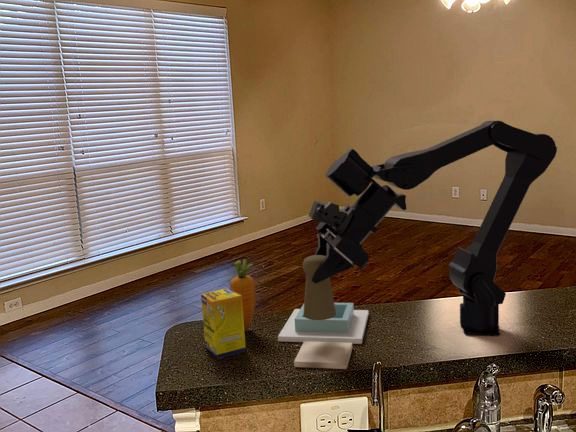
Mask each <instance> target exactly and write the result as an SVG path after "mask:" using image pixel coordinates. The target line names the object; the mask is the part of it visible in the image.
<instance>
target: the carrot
mask: <svg viewBox="0 0 576 432" xmlns="http://www.w3.org/2000/svg"><path fill="white" fill-rule="evenodd" d="M242 261H243V262H242ZM242 261H241V260H237V261H236V262H235V263H234V264H233V265H234V267H235V268H236V273H237V276H234V277H233V278H231V279H230V283H229V285H230V286H229V287H230V289H231V290H232V291H234V292H235V293H237V294H239V295H241V296H242V302H243V317H244V331H246V330H247V331H248V330H249V329H250V326H251V324H252V322H253V318H254V313H255V308H256V307H255V306H256V281H255V279H254V278H253V277H251V276H250V275H247V274H248V271H250V269H252V267H254V264H253V263H249V264H248V265H247V261H248V259H243V260H242ZM247 331H246V332H247Z"/></svg>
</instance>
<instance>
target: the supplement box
mask: <svg viewBox="0 0 576 432" xmlns="http://www.w3.org/2000/svg"><path fill="white" fill-rule="evenodd" d="M200 299H201V307H202V308H201V309H202V311H201V312H202V321H203V322H202V323H203V334H204V335H203V336H204V346H205V350H208V351H209V353H211V354H212V355H213V356H214V357H215V358H216V359H217V360H218V359H223V358H225V357H228V356H232V355H233V356H234V355H235V354H236V355H238V354H241V353H243V352H244V353H245V352H246V351H247V348H246V335H245V334H246V333H245V330H244V317H243V302H242V296H241V295H239V294H237V293H235V292H234V291H232V290H231V288H227V287H226V288H222V289H218V290H214V291H207V292H203V293H201V294H200Z"/></svg>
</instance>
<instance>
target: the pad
mask: <svg viewBox="0 0 576 432" xmlns="http://www.w3.org/2000/svg"><path fill="white" fill-rule="evenodd" d="M352 350H353V344H352V343H344V342H312V341H304V342H302V345H301V347H300V349H299V351H298V353H297V355H296V356H295V359H294V361H293V364H294V365H293V367H294V368H312V369H334V370H335V369H337V370H347V369H348V366H349V363H350V359H351V355H352Z"/></svg>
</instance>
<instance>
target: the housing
mask: <svg viewBox="0 0 576 432" xmlns="http://www.w3.org/2000/svg"><path fill="white" fill-rule="evenodd" d="M334 305H335V310H336V315H335V316H334V317H333V318H330V319H325V320H311V319H307V318H305V317H304V315H303V313H304V303H303V304H302V306H301V307H300V308H294V310H293V311H292V313H291V315H290V316H289V318H288V320H287V321H286V323H285V324H284V326H283V327H282V329H281V330H280V332H279V334H278V335H277V340H278V342H291V343H303V342H304V341H312V342H344V343H352V345H355V344H356V345H362V344H363V339H364V336H365V333H366V327H367V323H368V320H369V319H368V318H369V315H370V314H369V309H355V308H354V306H355V305H354V302H334Z"/></svg>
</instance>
